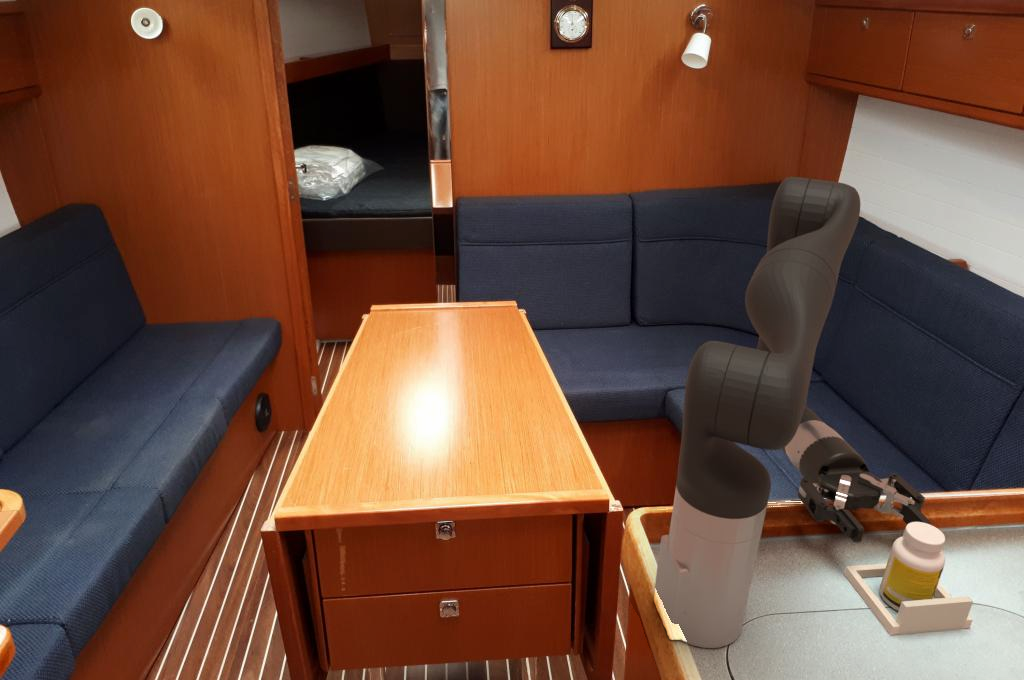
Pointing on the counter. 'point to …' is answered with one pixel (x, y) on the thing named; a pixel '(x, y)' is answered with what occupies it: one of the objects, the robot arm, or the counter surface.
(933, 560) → the supplement bottle
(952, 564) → the counter surface
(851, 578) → the beige open frame
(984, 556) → the counter surface
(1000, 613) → the counter surface
